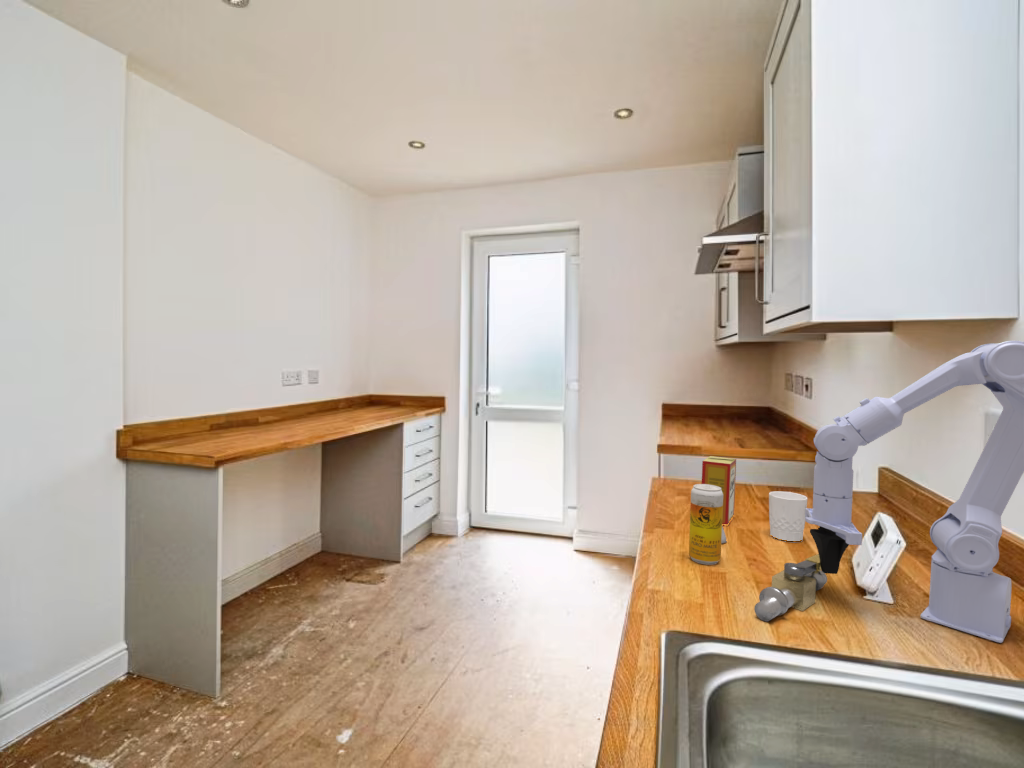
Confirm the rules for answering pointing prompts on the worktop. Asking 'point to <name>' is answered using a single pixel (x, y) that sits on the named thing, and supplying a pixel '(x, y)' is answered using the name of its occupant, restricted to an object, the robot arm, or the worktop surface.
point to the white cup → (787, 515)
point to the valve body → (788, 594)
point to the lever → (802, 568)
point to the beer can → (706, 524)
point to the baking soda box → (721, 481)
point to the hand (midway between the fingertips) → (829, 572)
